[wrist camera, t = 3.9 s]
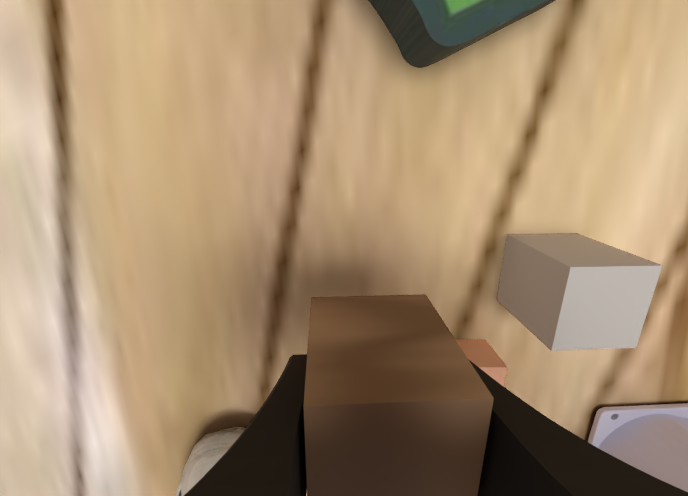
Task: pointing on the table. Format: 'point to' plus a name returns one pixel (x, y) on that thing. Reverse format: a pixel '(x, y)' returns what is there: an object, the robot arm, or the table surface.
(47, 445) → the table surface
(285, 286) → the table surface
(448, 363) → the walnut block
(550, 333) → the light grey block
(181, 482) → the sneaker
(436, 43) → the emblem
